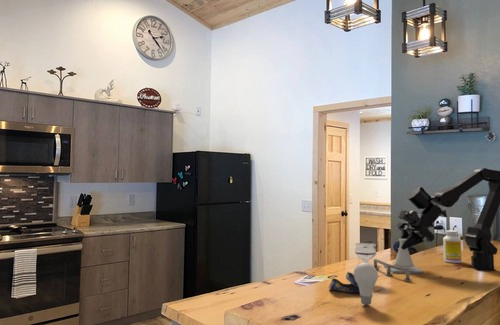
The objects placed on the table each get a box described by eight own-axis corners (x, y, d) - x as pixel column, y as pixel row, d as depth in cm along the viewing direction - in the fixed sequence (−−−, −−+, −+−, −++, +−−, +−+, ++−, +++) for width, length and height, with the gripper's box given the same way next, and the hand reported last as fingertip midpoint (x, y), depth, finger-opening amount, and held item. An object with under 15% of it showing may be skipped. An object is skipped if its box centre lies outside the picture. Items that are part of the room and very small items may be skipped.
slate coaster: (413, 267, 151) (412, 265, 151) (424, 273, 140) (424, 271, 140) (384, 267, 151) (384, 265, 151) (393, 273, 140) (393, 271, 140)
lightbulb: (350, 302, 104) (350, 260, 105) (372, 302, 105) (372, 260, 105) (359, 309, 98) (358, 265, 99) (382, 308, 99) (381, 264, 99)
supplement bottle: (464, 263, 160) (463, 231, 161) (448, 263, 160) (447, 231, 161) (456, 260, 166) (455, 230, 167) (440, 260, 167) (439, 230, 167)
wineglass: (380, 281, 128) (379, 244, 129) (371, 284, 124) (370, 246, 124) (361, 277, 133) (360, 242, 134) (351, 281, 128) (350, 244, 129)
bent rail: (376, 268, 149) (376, 258, 149) (413, 281, 128) (413, 269, 128) (368, 268, 148) (367, 258, 149) (403, 282, 127) (403, 270, 127)
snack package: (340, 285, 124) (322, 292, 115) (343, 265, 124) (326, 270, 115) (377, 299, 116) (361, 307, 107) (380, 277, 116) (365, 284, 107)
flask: (412, 269, 141) (411, 241, 141) (391, 266, 145) (390, 239, 145) (416, 265, 147) (415, 238, 147) (396, 263, 151) (395, 237, 151)
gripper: (400, 202, 157) (374, 230, 155) (425, 203, 138) (395, 235, 137) (420, 221, 157) (394, 249, 155) (447, 225, 138) (418, 258, 137)
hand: (399, 248), depth 146 cm, fingers closed on flask, 3 cm apart
